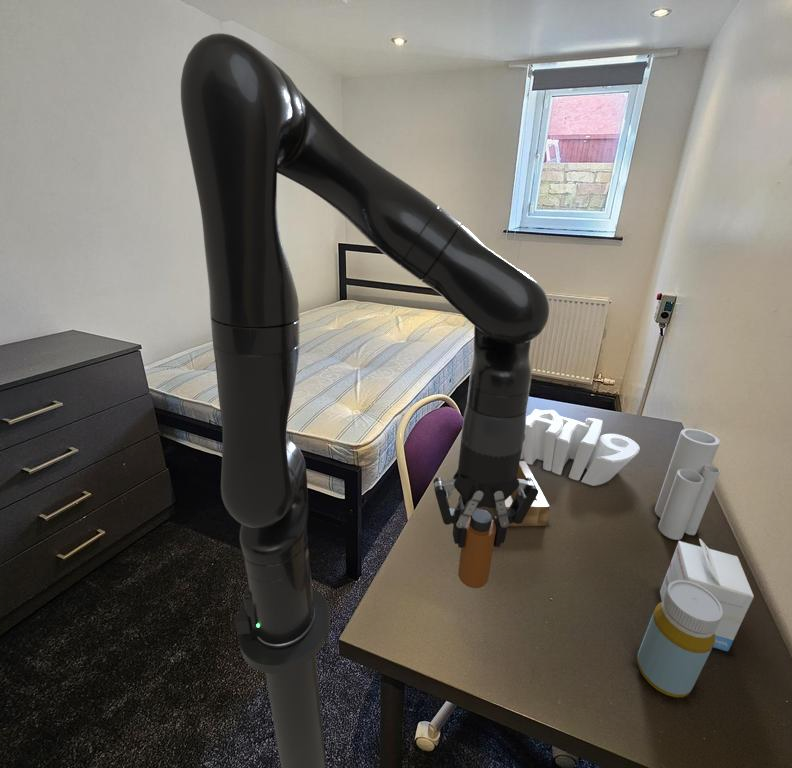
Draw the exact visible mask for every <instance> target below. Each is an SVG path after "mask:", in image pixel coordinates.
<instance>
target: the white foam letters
mask: <svg viewBox="0 0 792 768" xmlns="http://www.w3.org/2000/svg"><path fill="white" fill-rule="evenodd" d="M602 427H603V420H602V419H599V418H593V417H587V418H586V419H585V421H584V422H583V421H580V420H576V419H574V418H569V417H566V416H562V415H560V414H559V413H558V412H557V411H556V410H554V409H538V408H534V410H533V411H532V412H531V413H530V414H529V415H526V428H525V440H524V442H523V446H522V452H521V458H520V460H523V461H526V463H527V465H530V466H533V465H534V462H535V461H536V460H539V461H543V463H542V469H543V470H545V471H548V472H552V473H553V474H556V475H559V476H562V473H563V469H564V467H565V465H566V464H567V462H568V461H569V460H573V463H572V466H571V468H570V471H569V474H568V478H569V479H571V480H575V481H580V482H581V483H583V484H586V485H589V486H593V487H595V486H600V485H603V484H606V483H608V482H609V481H610V480H612V479H613V478H614V477H615V476H616V475H617V474H618V473H619V472H620V471H621V470H622V469H623V468H624V467H626V465H628V463H629V462H631V460H633V459H634V458H635V457H636V455H638V454H639V452H640V446H639V444H638V443H637V442H636V441H635V440H633V439H631V438H630V437H627V436H624V435H622V434H618V433H605V434H602V435H601V432H602ZM585 469H586V472H585V473H584V471H585ZM583 473H584V476H582V475H583ZM581 477H582V480H581Z"/></svg>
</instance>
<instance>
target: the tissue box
mask: <svg viewBox="0 0 792 768" xmlns="http://www.w3.org/2000/svg"><path fill="white" fill-rule="evenodd" d="M698 540H699V544H700V545H697V544H693V543H688V542H685V541H681V540H678V542H677V544H676V548H675V550H674V553H673V555H672V558H671V561H670V563H669V566H668V568H667V571H666V574H665V577H664V579H663V582H662V585H661V588H660V590H659V595H660V600H661V602H662V601H663V599H664V595H665V592H666V590H667V587H668V585H669V584H670V583H671V582H673V581H675V580H686V581H690V582H693V583H696V584H698V585H700V586H702V587H703V588H705V589H706V590H708V591H709V592H710V593H712V594H713V595H714V596H715V597H716V598H717V600H718V601H719V602H720V604H721V606H722V609H723V616H722V619H721V621H720V623H719V625H718V627H717V629H716V631H715V643H714V646H713V648H714V649H718V650H721V651H724V652H729V651H730V649H731V647H732V644H733V642H734V640H735V638H736V637H737V634H738V631H739V629H740V628H741V625H742V624H743V621H744V619H745V617H746V615H747V613H748V611H749V608H750V606H751V604H752V602H753V600H754V597H755V595H754V593H753V591H752V587H751V586H750V583H749V581H748V578H747V576H746V574H745V573H746V572H745V571H744V569H743V566H742V564H741V561H740V559H739V557H738V556H737V555H734V554H730V553H727V552H723V551H719V550H716V549H712V548H709V547H708V546H707V545H706V543H705V542H704V541H703V540H702V539H701V538H698Z"/></svg>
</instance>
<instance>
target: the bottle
mask: <svg viewBox="0 0 792 768" xmlns="http://www.w3.org/2000/svg"><path fill="white" fill-rule="evenodd" d="M722 616H723V609H722V606H721V604H720V602H719V601H718V600H717V598H716V597H715V596H714V595H713V594H712V593H710V592H709V591H708V590H706V589H705V588H703V587H702V586H700V585H698V584H696V583H693V582H690V581H686V580H675V581H673V582H671V583H670V584H669V585H668V587H667V590H666V592H665V595H664V599H663V601H662V600H661V601H660V602H659V603H658V604H657V605H656V606H655V608H654V610H653V613H652V615H651V617H650V620H649V623H648V625H647V628H646V631H645V634H644V637H643V639H642V641H641V643H640V647H639V649H638V651H637V656H636V663H637V668H638V669H639V671H640V674H641V675H642V677H643V678H644V679H645V680H646V681H647V682H648V684H649V685H650V686H652V687H653V689H654V688H655V690H656V691H658V692H660V693H662V694H663V695H666V696H669V697H672V698H685V697H686V696H689V694H690V693H691V692H692V690H693V688H694V687H695V684H696V682H697V680H698V678H699V677H700V675H701V672H702V670H703V668H704V666H705V664H706V662H707V660H708V659H709V656H710V654H711V652H712V650H713V648H714V647H713V646H714V643H715V631H716V629H717V627H718V625H719V623H720V621H721V619H722Z"/></svg>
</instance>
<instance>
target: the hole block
mask: <svg viewBox="0 0 792 768" xmlns="http://www.w3.org/2000/svg"><path fill="white" fill-rule="evenodd" d="M517 478H518V479H522V480H524V479H526V478H532V480H533V482H534V484H535V486H536V488H537V490H538V494H537V496H536V498H535V500H534V502H533V503H532V505H531V507H530V509H529V511H528V512H527V514H526V516H525V518H524V520H523V521H522V523H520V524H516V523H515V522H513V523H510V524H509V526H508V527H538V526H539V527H541V526H542V527H543V526H547V522H548V518H549V512H550V506H551V505H550V504H549V502H548V500H547V498H546V496H545V495H544V493H543V491H542V489H541V487H540V485H539V484H538V482H537V480H536V478H535V476H534V474H533V473H532V471H531V468H530V467H529V464H527V463H526V461H524V460H520V464H519V469H518V474H517ZM516 494H517V490H515V491H514V492H513V493H512V494H511V495H510V496H509V497H508V498H507V499H506V500H505V505H506V509H509V508H510V506H511V504H512V502H513V500H514V498H515V496H516Z"/></svg>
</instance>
